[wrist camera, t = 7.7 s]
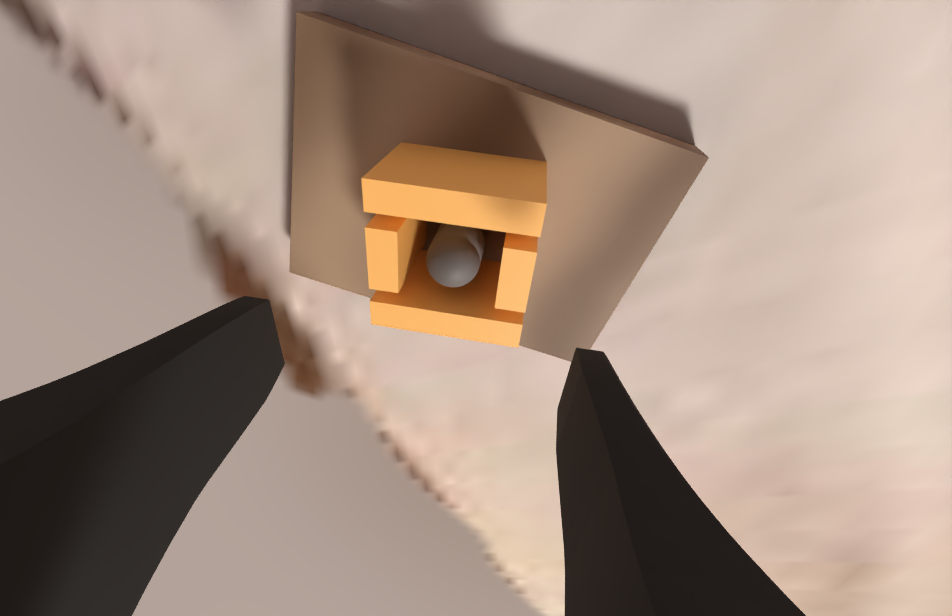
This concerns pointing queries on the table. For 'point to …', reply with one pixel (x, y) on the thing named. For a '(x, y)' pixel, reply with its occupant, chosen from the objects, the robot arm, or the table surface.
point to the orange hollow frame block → (458, 203)
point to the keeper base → (484, 131)
